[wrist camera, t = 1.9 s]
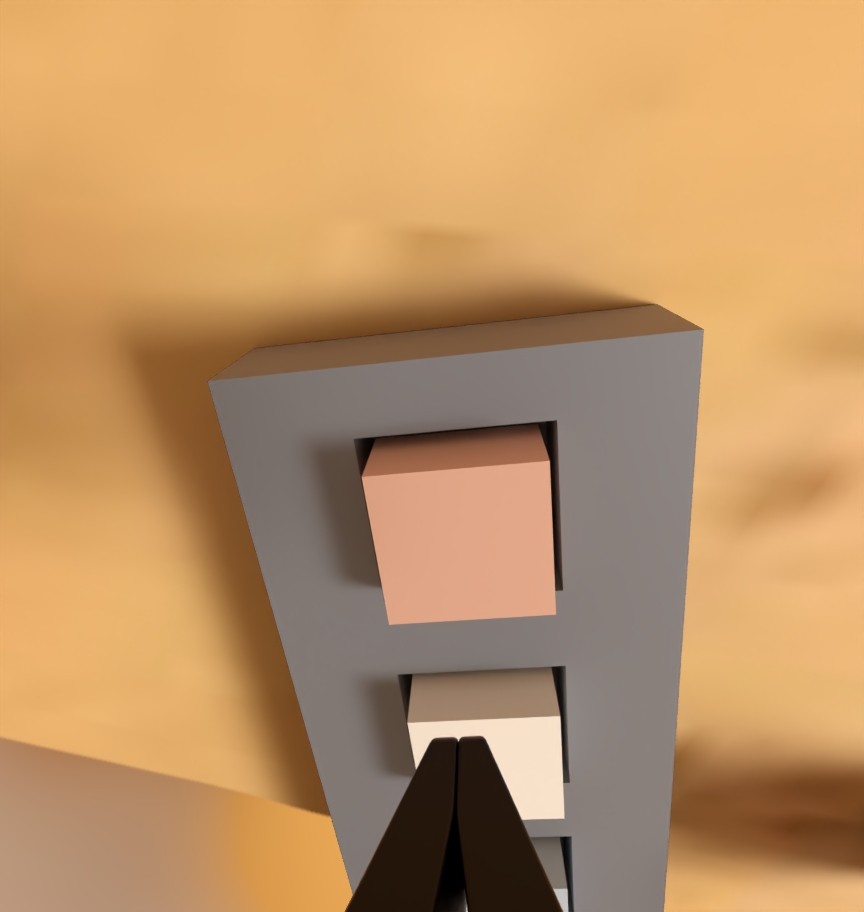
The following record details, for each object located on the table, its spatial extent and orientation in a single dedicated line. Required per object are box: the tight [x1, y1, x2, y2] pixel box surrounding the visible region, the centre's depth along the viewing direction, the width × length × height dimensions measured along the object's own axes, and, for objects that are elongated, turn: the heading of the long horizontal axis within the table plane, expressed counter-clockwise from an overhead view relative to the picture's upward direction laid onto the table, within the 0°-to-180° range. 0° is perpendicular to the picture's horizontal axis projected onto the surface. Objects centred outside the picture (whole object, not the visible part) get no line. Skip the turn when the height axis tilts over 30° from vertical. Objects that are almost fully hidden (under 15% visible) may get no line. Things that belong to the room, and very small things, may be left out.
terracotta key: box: [362, 424, 556, 625], centre depth 15 cm, size 4×4×2 cm
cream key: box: [407, 667, 565, 820], centre depth 19 cm, size 4×4×2 cm
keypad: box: [208, 304, 704, 912], centre depth 20 cm, size 12×25×4 cm, turn 7°
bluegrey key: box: [466, 837, 568, 912], centre depth 22 cm, size 4×4×2 cm
